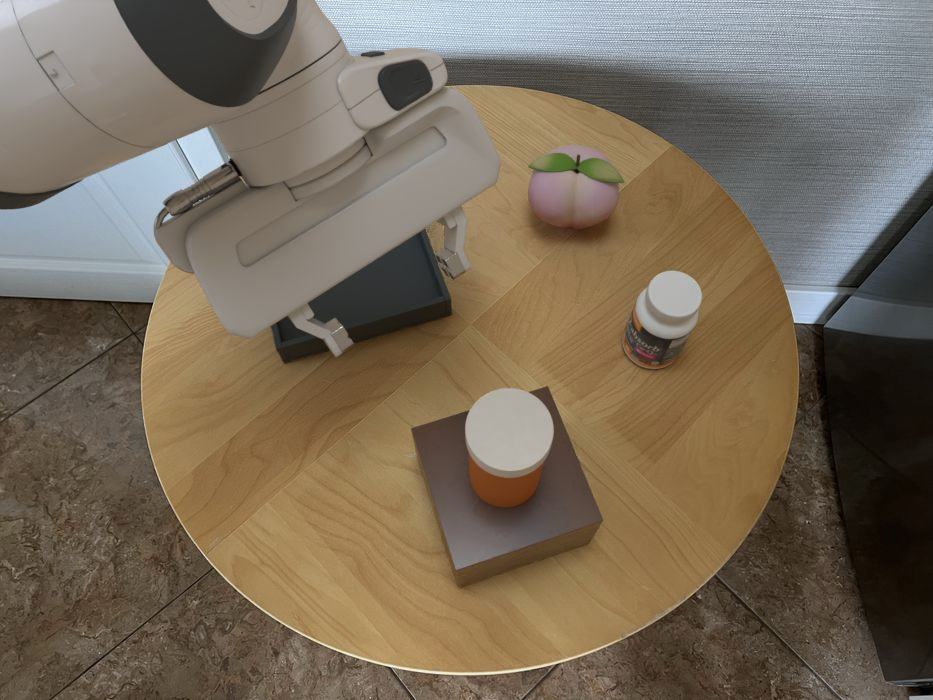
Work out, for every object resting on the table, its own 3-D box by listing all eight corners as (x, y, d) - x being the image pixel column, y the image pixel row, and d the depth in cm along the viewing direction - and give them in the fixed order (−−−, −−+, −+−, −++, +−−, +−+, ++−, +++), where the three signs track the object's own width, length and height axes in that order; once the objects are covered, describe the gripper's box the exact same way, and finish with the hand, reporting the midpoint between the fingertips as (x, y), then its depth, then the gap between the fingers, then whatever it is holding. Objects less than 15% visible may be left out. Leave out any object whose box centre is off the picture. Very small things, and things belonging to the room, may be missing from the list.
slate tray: (283, 363, 73) (276, 349, 71) (253, 240, 80) (245, 223, 77) (452, 314, 76) (451, 299, 73) (409, 199, 82) (407, 180, 79)
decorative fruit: (610, 188, 83) (627, 122, 74) (612, 250, 79) (629, 189, 70) (524, 184, 83) (530, 118, 74) (522, 246, 79) (528, 184, 70)
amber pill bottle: (480, 520, 58) (481, 482, 49) (456, 450, 61) (453, 402, 52) (553, 496, 59) (567, 455, 50) (526, 428, 62) (535, 377, 53)
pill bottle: (609, 343, 74) (627, 290, 65) (648, 309, 76) (671, 253, 67) (652, 382, 72) (677, 334, 63) (692, 346, 74) (721, 294, 65)
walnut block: (457, 588, 64) (455, 570, 57) (417, 459, 69) (410, 428, 62) (589, 543, 65) (603, 520, 58) (540, 420, 70) (547, 385, 63)
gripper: (140, 227, 39) (279, 417, 46) (462, 40, 43) (544, 242, 50) (132, 203, 44) (258, 378, 51) (420, 39, 48) (499, 222, 55)
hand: (401, 309), depth 51 cm, fingers open, 8 cm apart
